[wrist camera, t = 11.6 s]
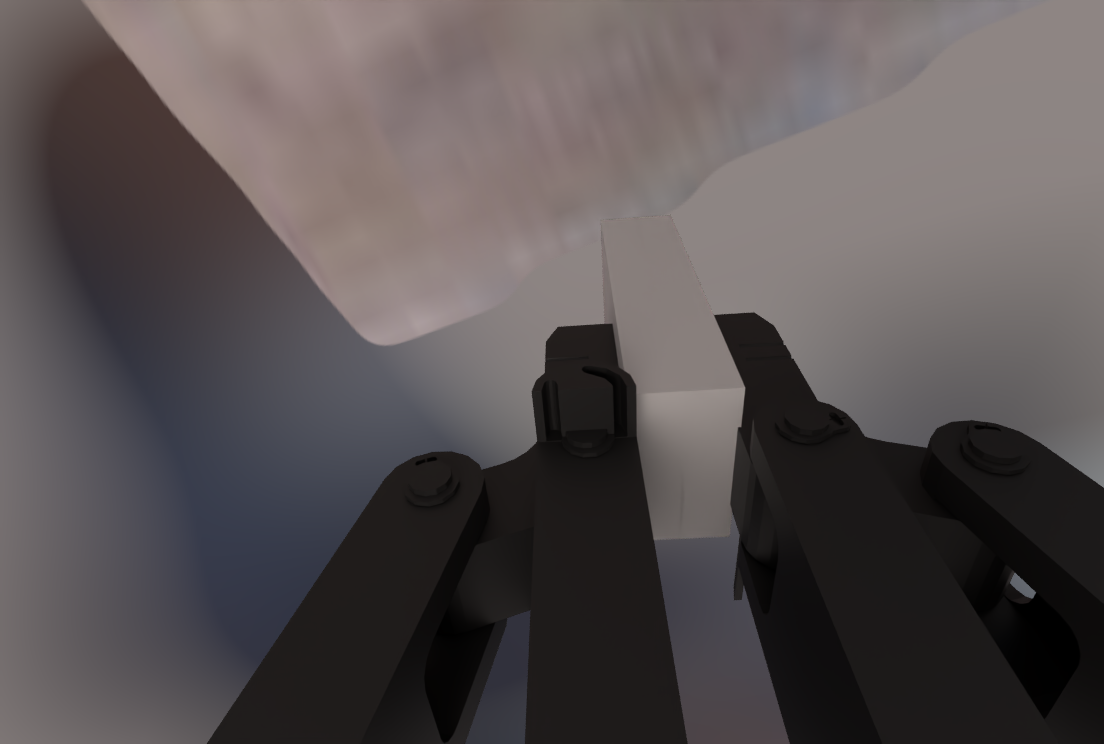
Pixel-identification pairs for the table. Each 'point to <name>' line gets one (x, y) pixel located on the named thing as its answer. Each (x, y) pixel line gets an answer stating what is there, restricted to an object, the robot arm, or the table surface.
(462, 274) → the table surface
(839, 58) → the table surface
